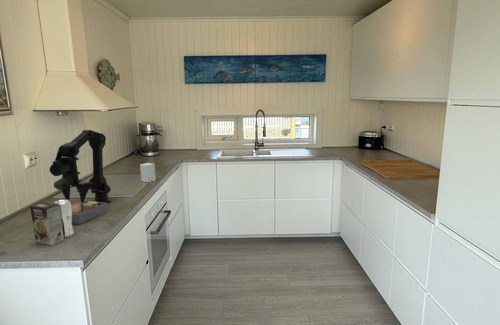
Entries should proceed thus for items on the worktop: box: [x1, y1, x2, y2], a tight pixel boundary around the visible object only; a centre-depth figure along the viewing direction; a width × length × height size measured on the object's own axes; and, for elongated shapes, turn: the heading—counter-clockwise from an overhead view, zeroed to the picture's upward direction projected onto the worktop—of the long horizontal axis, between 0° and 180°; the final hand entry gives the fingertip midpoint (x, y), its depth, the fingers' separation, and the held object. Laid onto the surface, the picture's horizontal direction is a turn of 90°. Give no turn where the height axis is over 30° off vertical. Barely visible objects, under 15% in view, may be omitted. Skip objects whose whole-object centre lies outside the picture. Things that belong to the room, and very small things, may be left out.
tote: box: [72, 200, 109, 226], centre depth 159 cm, size 18×14×5 cm
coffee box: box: [29, 201, 65, 246], centre depth 131 cm, size 9×6×16 cm
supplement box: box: [139, 162, 157, 184], centre depth 225 cm, size 7×7×13 cm
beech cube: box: [82, 200, 98, 212], centre depth 163 cm, size 5×5×5 cm
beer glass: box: [52, 199, 75, 238], centre depth 137 cm, size 7×7×15 cm
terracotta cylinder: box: [71, 203, 82, 214], centre depth 154 cm, size 5×5×7 cm
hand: (75, 201), depth 156 cm, fingers open, 9 cm apart
